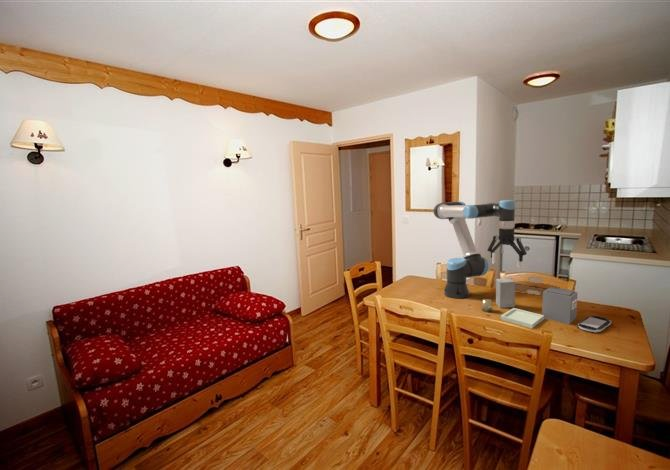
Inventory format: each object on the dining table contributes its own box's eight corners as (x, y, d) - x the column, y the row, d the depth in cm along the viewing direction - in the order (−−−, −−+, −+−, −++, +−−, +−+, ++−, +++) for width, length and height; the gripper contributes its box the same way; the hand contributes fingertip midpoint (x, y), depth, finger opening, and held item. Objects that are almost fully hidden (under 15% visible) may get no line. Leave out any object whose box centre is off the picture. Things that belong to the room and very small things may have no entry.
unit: (541, 317, 165) (543, 290, 163) (549, 311, 171) (550, 285, 169) (570, 324, 156) (571, 296, 154) (577, 318, 162) (578, 291, 160)
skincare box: (509, 303, 186) (510, 277, 184) (515, 308, 179) (516, 281, 177) (494, 303, 187) (495, 277, 184) (499, 308, 180) (500, 281, 177)
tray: (500, 319, 166) (500, 315, 166) (513, 311, 175) (513, 307, 175) (532, 328, 154) (532, 324, 154) (544, 319, 163) (544, 315, 163)
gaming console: (597, 336, 144) (597, 331, 144) (574, 329, 152) (574, 324, 151) (613, 324, 155) (613, 319, 154) (591, 318, 162) (591, 313, 162)
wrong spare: (480, 310, 179) (480, 300, 178) (484, 308, 182) (484, 298, 181) (489, 313, 175) (489, 302, 174) (493, 310, 178) (493, 300, 177)
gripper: (481, 227, 183) (481, 263, 187) (528, 230, 164) (527, 270, 167) (487, 226, 188) (487, 260, 191) (534, 228, 168) (533, 267, 172)
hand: (506, 265), depth 179 cm, fingers open, 13 cm apart
